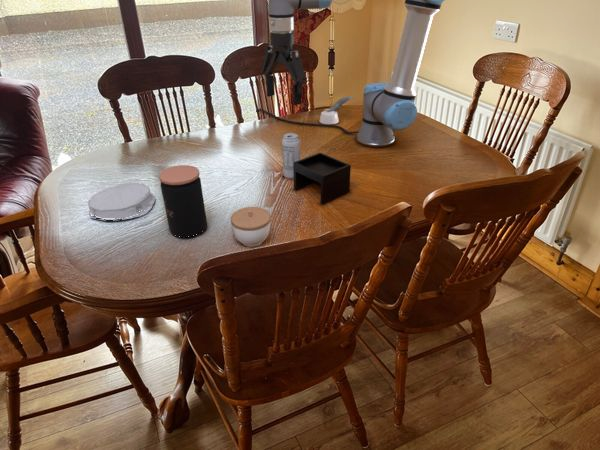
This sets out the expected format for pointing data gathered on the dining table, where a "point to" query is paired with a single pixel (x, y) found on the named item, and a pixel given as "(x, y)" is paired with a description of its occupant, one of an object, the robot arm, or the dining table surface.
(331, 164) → the stand
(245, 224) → the trinket box
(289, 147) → the energy drink can
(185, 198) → the coffee jar
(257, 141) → the dining table surface
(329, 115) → the inkwell
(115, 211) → the food container
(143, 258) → the dining table surface
